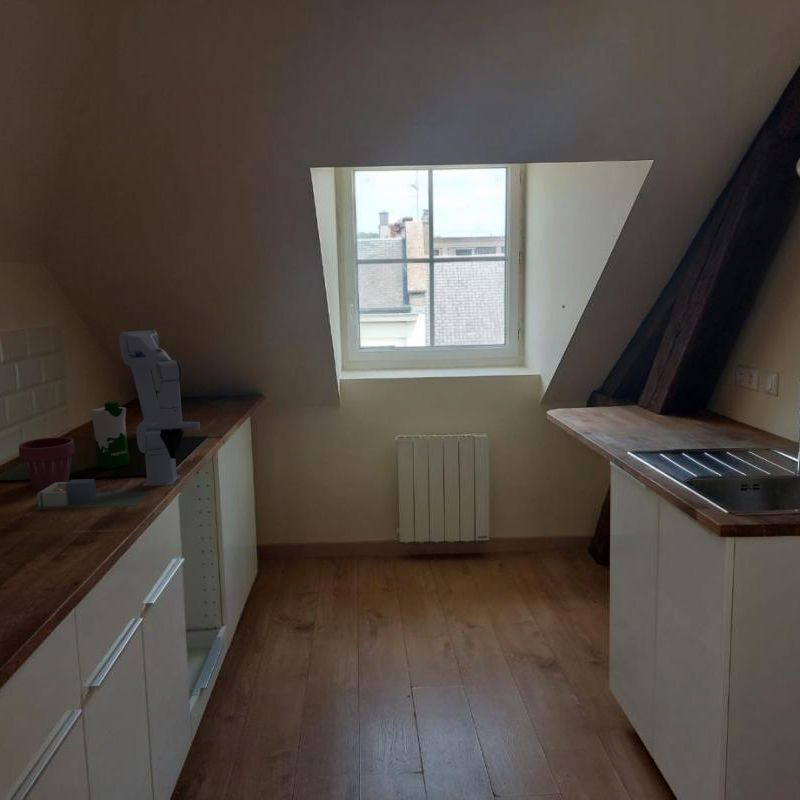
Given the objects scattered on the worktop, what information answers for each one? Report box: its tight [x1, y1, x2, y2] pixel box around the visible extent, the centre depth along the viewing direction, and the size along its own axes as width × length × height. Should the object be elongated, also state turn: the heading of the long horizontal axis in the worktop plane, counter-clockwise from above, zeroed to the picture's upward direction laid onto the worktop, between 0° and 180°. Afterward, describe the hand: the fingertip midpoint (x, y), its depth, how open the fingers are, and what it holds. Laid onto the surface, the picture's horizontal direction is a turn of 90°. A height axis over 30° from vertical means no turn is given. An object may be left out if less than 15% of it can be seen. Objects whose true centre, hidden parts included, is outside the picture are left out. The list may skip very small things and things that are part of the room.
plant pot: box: [18, 436, 76, 491], centre depth 213 cm, size 14×14×13 cm
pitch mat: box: [33, 490, 154, 510], centre depth 198 cm, size 13×26×1 cm, turn 90°
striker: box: [65, 478, 97, 503], centre depth 198 cm, size 4×6×5 cm, turn 90°
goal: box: [37, 482, 68, 507], centre depth 198 cm, size 10×7×4 cm
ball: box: [51, 488, 64, 492], centre depth 197 cm, size 4×4×4 cm
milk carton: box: [89, 401, 131, 470], centre depth 235 cm, size 9×9×20 cm
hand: (174, 457), depth 201 cm, fingers closed
